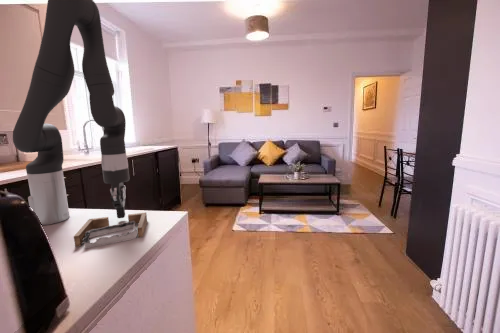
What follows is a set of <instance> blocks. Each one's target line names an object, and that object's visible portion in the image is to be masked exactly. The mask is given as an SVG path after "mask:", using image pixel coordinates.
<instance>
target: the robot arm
mask: <svg viewBox="0 0 500 333" xmlns="http://www.w3.org/2000/svg"><path fill="white" fill-rule="evenodd" d="M95 2H96V1H94V0H47V5H46V12H45V20H44V27H43V31H42V32H43V33H42V37H41V40H40V46H39V50H38V55H37V58H36V61H35V64H34V67H33V70H32V75H31V79H30V83H29V88H28V91H27V95H26V98H25V101H24V104H23V105H22V108H21V111H20V114H19V116H18V117H17V120H16V122H15V124H14V128H13V132H12V143H13V144H14V147H15V148H16V149H17V150H18V151H20V152H22V153H28V154H29V153H31V154H32V153H37V156H36V157H35V158H34V159H33V161H31V162H29V163H27V164H26V166H25V172H26V176H27V181H28V186H29V193H30V195H29V196H28V197H27V200H28V207H29V206H30V207H31V208H32V209H33V211H34V212H35V213H36V215H37V216H38V218H39V220H40V222H41V224H42V225H41V226H46V225H51V224H52V225H53V224H58V223H61V222H63V221H66V220H68V219H69V218H70V210H69V204H68V197H67V190H66V185H65V184H66V183H65V177H64V170H63V163H64V149H63V148H64V147H63V139H62V138H63V137H62V135H61V133H60V131H59V129H58V128H57V127H56V126H55V124H51V123H45V122H46V119H47V118H48V117H49V116H48V115H49V114H50V113H51V111H53V110H54V109H55V108H56V107H57V106H58V104H60V103H61V102H62V101H63V100H65V98H66V97H67V95H69V92H70V90H71V87H72V84H73V80H74V78H75V64H74V59H73V54H72V50H71V38H72V34H73V31H74V27H75V26H76V28H77V29H78V31H79V33H80V36H81V39H82V43H83V44H82V45H83V53H82V54H83V55H82V60H81V62H82V63H81V69H82V74H83V78H84V81H85V84H86V87H87V91H88V94H89V98H88V100H89V109H90V114H91V117H92V119H93V121H94V122H95V123H96V124H97V125H98V126H100V127H102V128H103V135H102V136H101V137H100V139H99V147H100V153H101V154H100V156H101V158H100V159H101V168H102V169H101V170H102V177H103V182H104V184H109V185H111V188H110V189H109V191H110V194H111V195H110V196H109V199H110V202H111V204H112V207H113V208H114V209H115V211H116V218H117V219H124V218H125V217H126V209H125V205H126V197H127V196H126V195H127V194H126V193H127V192H126V191H127V190H126V189H127V187H126V185H124V184H125V183H127V182H129V181H130V170H129V161H128V157H127V156H128V155H127V151H126V142H125V136H126V116H125V113H124V111H123V110H122V109H121V108H120V107H119V106H116V105H115V104H114V103H115V102H114V99H113V96H114V95H115V88H114V83H113V81H112V80H113V79H112V77H111V74H110V70H109V66H108V63H107V59H106V58H107V57H106V51H105V45H104V38H103V31H102V20H101V15H100V14H101V13H100V10H99V8H98V6H97V3H95ZM30 207H29V208H30Z"/></svg>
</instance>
